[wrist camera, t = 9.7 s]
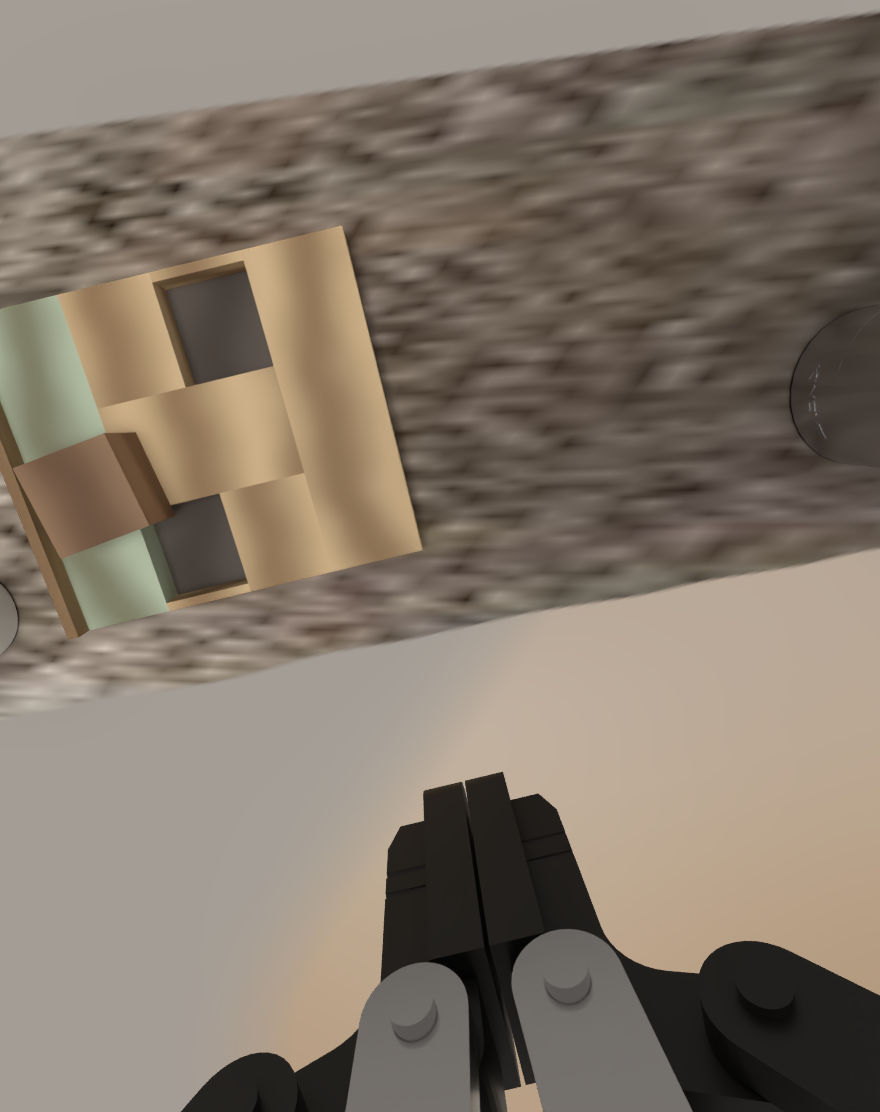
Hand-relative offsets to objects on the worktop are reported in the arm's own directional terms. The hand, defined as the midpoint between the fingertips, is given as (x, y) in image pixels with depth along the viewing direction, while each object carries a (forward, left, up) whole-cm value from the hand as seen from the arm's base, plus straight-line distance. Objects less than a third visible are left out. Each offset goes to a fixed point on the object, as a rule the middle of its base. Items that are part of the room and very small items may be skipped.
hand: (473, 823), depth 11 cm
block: (+17, -8, -25) cm, 31 cm away
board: (+11, -9, -27) cm, 31 cm away
